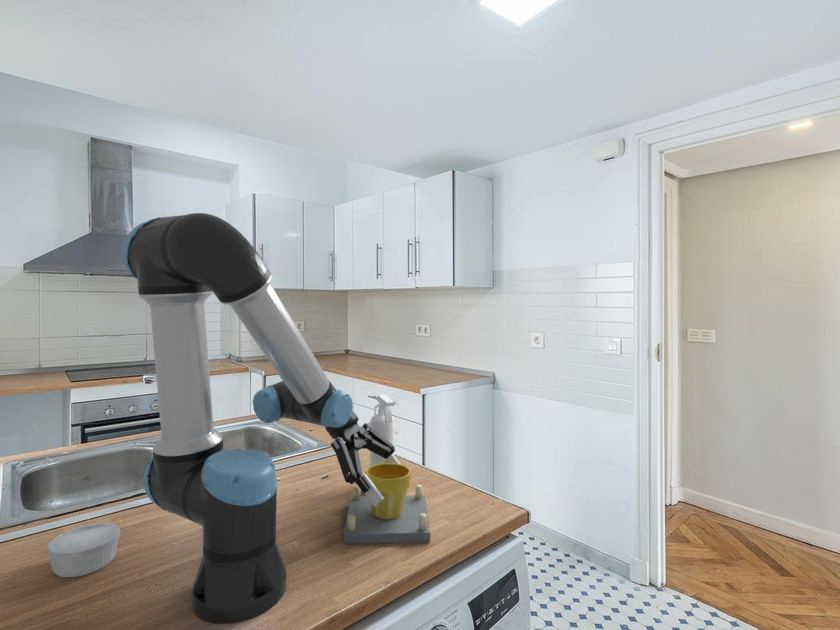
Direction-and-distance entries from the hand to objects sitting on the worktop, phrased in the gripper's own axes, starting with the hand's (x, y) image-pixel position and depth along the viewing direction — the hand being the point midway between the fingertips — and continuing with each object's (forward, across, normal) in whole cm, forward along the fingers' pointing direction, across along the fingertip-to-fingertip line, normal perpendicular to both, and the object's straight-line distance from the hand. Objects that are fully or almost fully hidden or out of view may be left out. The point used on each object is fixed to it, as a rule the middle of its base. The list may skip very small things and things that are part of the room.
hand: (393, 490), depth 103 cm
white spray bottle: (-3, -17, -14) cm, 22 cm away
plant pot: (+3, 0, -5) cm, 6 cm away
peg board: (+4, 0, -6) cm, 8 cm away
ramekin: (-27, +37, -39) cm, 60 cm away
